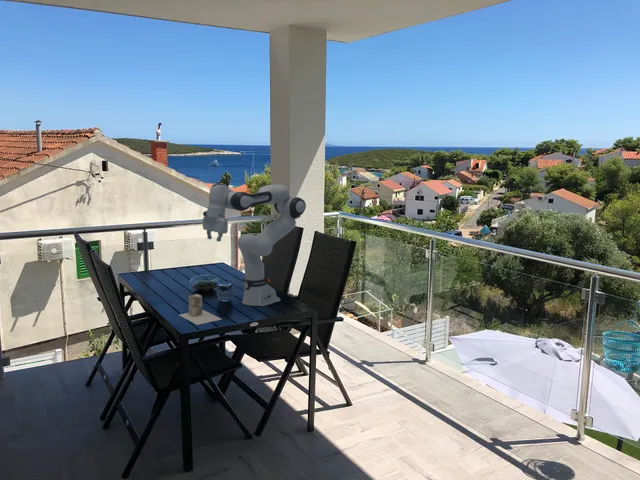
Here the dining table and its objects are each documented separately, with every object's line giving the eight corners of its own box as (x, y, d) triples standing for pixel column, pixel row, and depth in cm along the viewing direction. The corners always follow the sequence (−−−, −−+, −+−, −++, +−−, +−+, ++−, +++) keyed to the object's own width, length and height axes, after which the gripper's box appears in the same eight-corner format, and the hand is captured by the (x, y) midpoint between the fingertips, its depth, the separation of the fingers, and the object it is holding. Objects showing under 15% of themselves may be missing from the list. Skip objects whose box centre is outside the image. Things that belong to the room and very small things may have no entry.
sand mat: (203, 310, 256) (203, 309, 256) (222, 320, 241) (222, 319, 241) (178, 315, 246) (178, 314, 246) (197, 325, 232) (197, 324, 232)
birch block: (197, 312, 251) (197, 294, 249) (202, 314, 247) (202, 296, 246) (188, 314, 247) (188, 295, 246) (193, 316, 244) (193, 297, 242)
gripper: (232, 216, 245) (229, 242, 246) (211, 213, 260) (209, 238, 261) (221, 215, 241) (218, 242, 242) (201, 212, 256) (199, 237, 257)
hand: (213, 240), depth 252 cm, fingers open, 8 cm apart
